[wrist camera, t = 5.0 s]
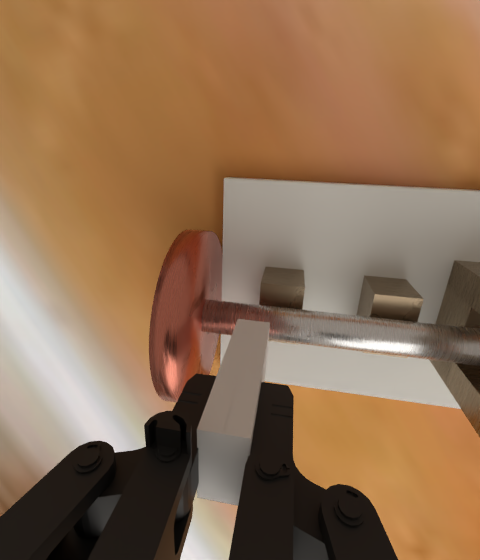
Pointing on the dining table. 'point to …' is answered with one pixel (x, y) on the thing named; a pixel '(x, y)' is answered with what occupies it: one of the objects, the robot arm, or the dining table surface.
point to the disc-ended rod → (283, 321)
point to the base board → (347, 268)
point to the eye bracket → (403, 316)
